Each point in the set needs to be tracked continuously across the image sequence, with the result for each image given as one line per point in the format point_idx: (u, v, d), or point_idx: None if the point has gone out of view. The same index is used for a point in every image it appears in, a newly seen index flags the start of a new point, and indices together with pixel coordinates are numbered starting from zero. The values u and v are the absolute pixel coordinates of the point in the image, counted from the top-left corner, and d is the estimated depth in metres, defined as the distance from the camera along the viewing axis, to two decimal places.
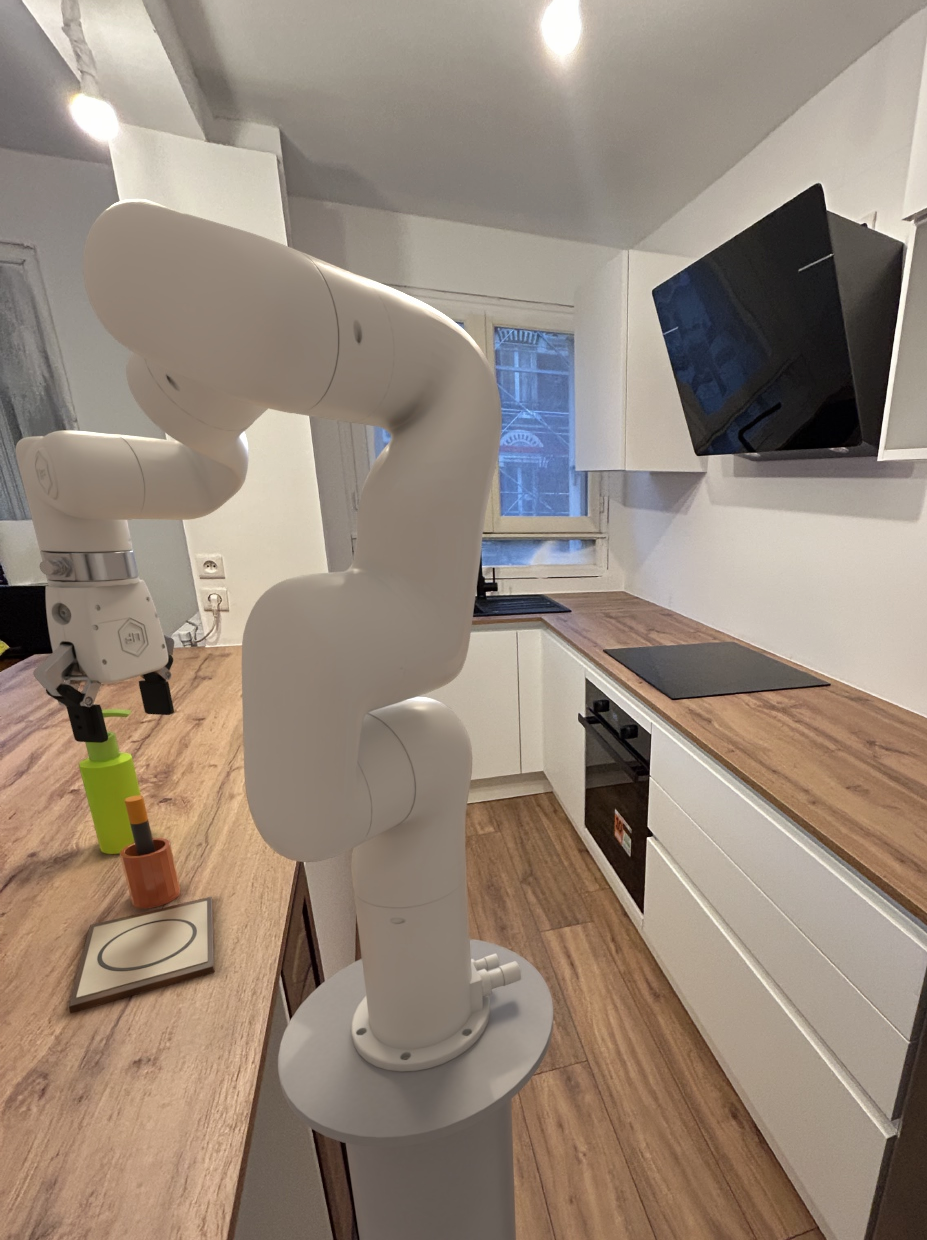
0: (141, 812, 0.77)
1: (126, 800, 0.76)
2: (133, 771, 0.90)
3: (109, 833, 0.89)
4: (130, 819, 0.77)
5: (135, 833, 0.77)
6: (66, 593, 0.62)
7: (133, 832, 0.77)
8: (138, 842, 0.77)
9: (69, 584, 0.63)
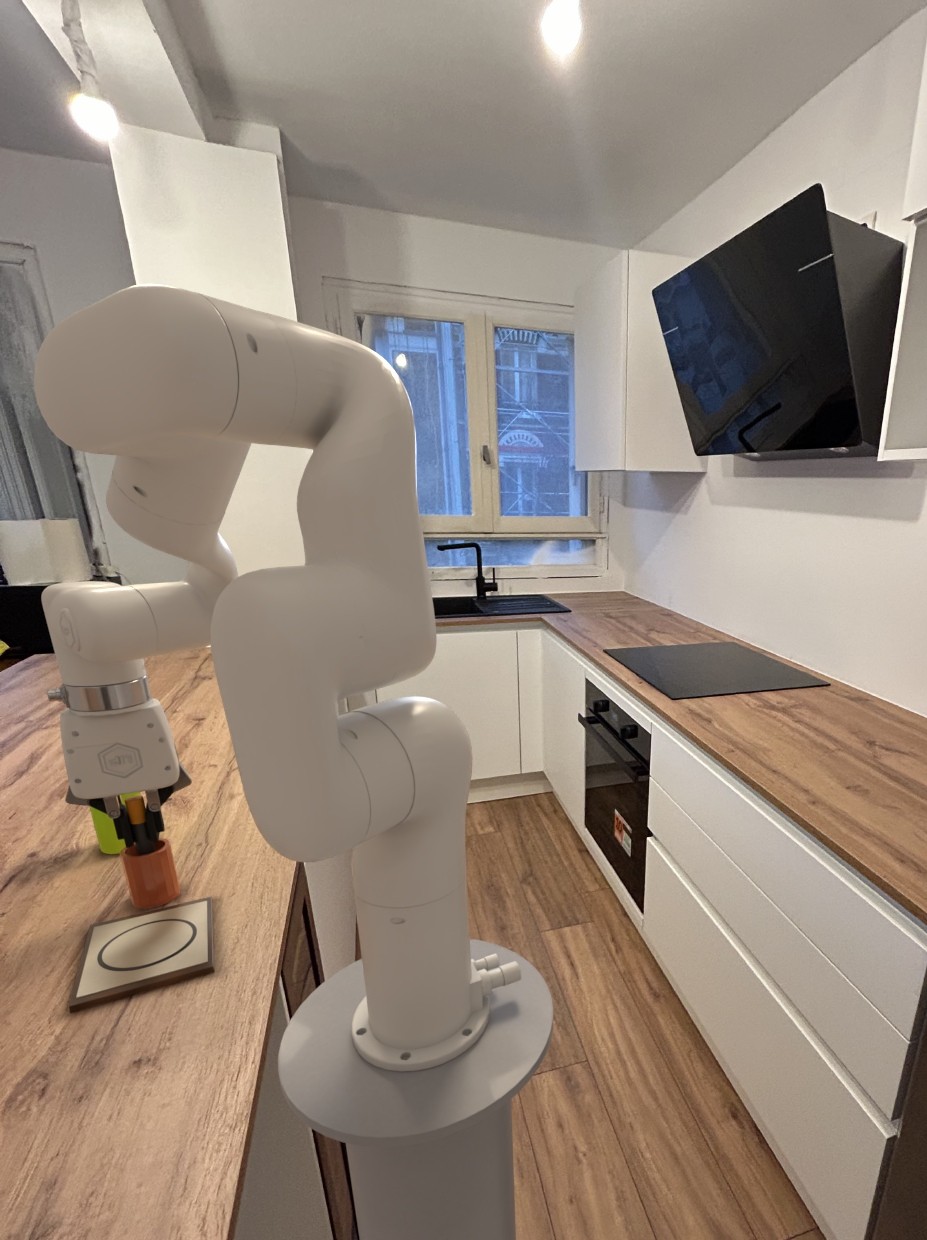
0: (141, 812, 0.77)
1: (126, 800, 0.76)
2: None
3: (109, 833, 0.89)
4: (130, 819, 0.77)
5: (135, 833, 0.77)
6: (60, 718, 0.70)
7: (133, 832, 0.77)
8: (138, 842, 0.77)
9: (69, 709, 0.71)
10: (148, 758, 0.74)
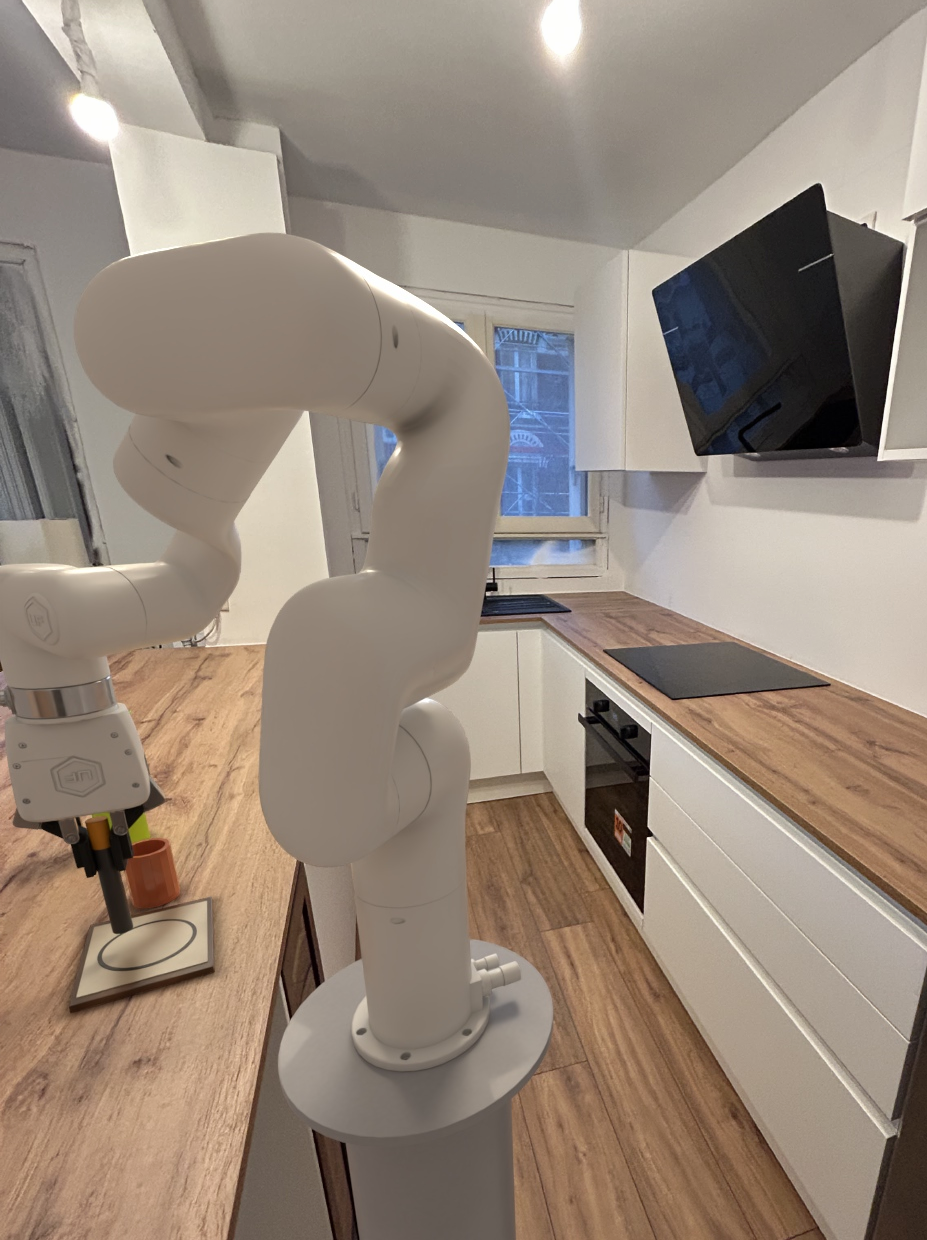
0: (105, 836, 0.65)
1: (87, 822, 0.65)
2: None
3: None
4: (92, 844, 0.65)
5: (97, 860, 0.66)
6: None
7: (95, 859, 0.66)
8: (101, 870, 0.66)
9: None
10: (112, 774, 0.62)
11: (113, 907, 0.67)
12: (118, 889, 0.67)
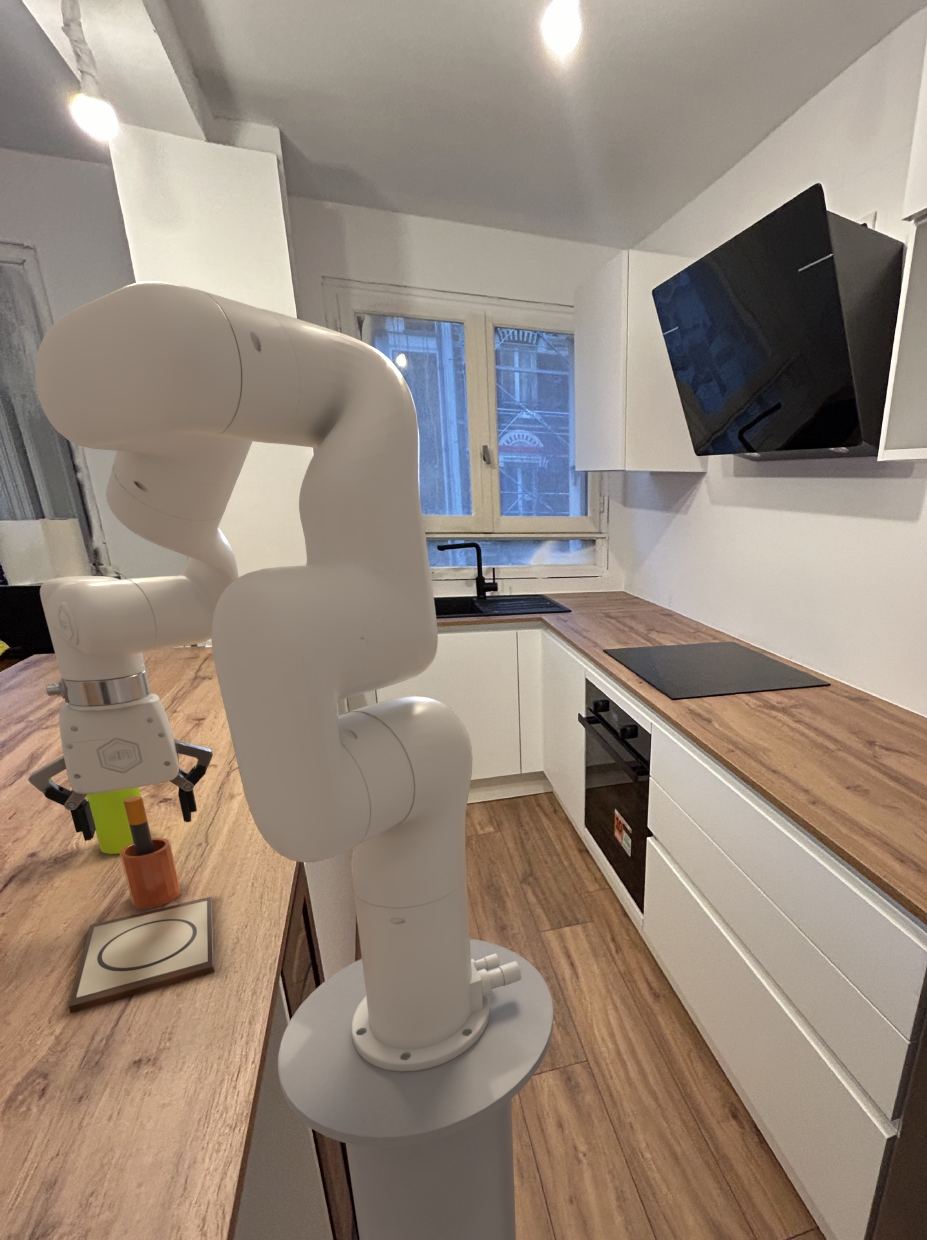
0: (140, 813, 0.77)
1: (125, 801, 0.76)
2: None
3: (109, 833, 0.89)
4: (129, 820, 0.76)
5: (134, 834, 0.77)
6: (59, 713, 0.70)
7: (132, 833, 0.77)
8: (137, 842, 0.77)
9: (68, 704, 0.70)
10: (147, 753, 0.74)
11: None
12: None
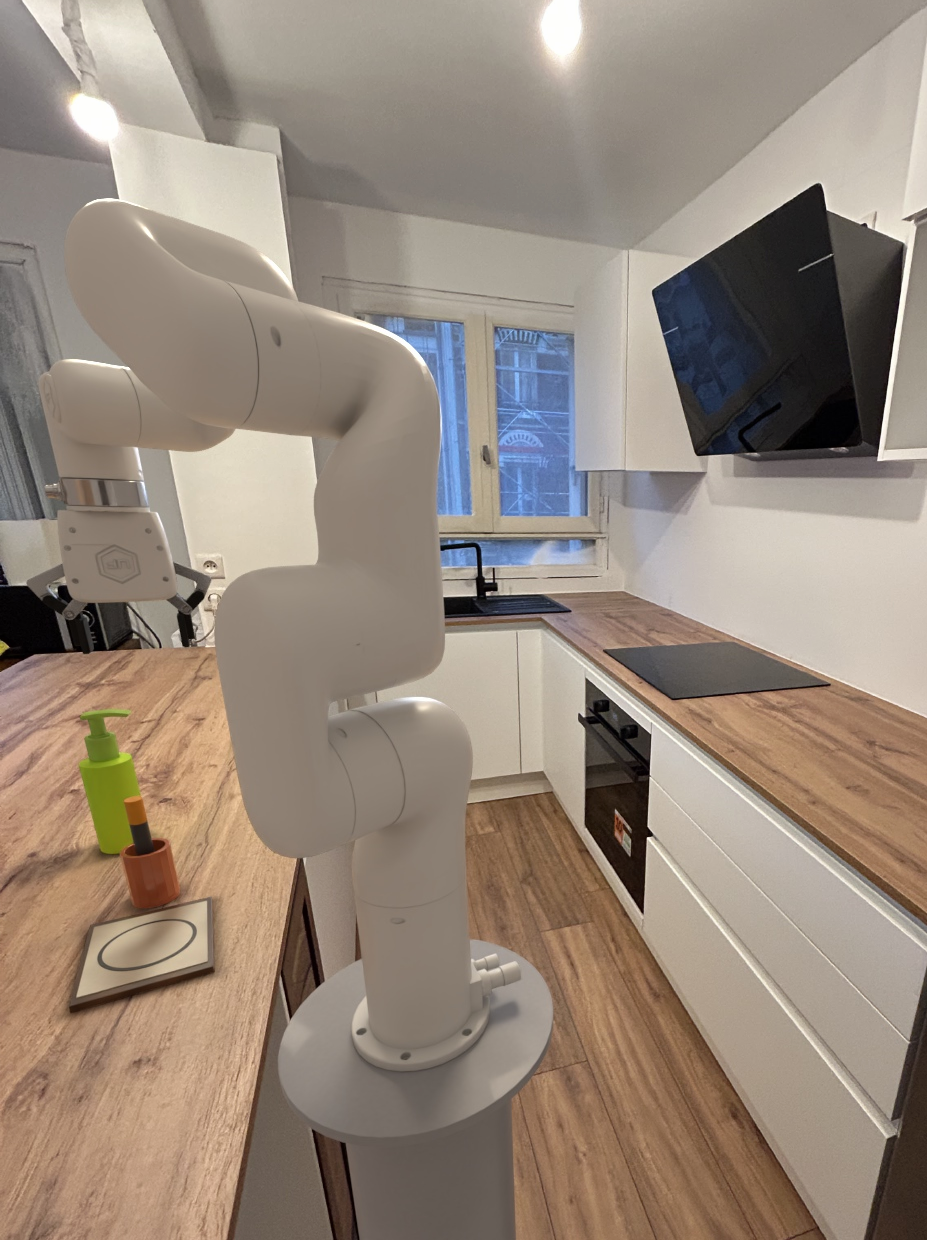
0: (140, 813, 0.77)
1: (125, 801, 0.76)
2: (133, 771, 0.90)
3: (109, 833, 0.89)
4: (129, 820, 0.76)
5: (134, 834, 0.77)
6: (57, 515, 0.70)
7: (132, 833, 0.77)
8: (137, 842, 0.77)
9: None
10: (146, 565, 0.73)
11: None
12: None
